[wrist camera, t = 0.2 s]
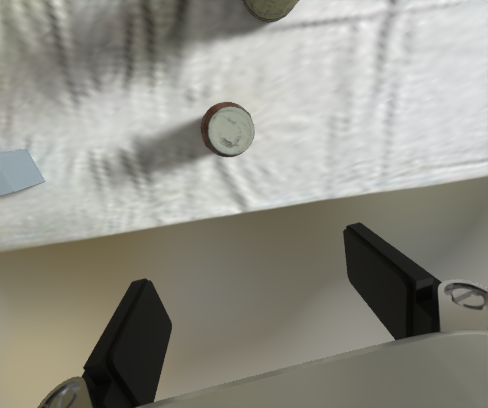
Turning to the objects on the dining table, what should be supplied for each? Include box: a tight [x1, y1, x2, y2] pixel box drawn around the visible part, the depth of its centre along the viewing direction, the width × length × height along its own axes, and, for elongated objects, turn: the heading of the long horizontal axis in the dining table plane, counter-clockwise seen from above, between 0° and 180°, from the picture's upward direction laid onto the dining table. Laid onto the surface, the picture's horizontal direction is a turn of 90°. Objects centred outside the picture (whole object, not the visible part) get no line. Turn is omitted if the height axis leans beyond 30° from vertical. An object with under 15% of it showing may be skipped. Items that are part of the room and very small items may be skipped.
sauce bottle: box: [201, 102, 254, 157], centre depth 28 cm, size 7×6×20 cm
